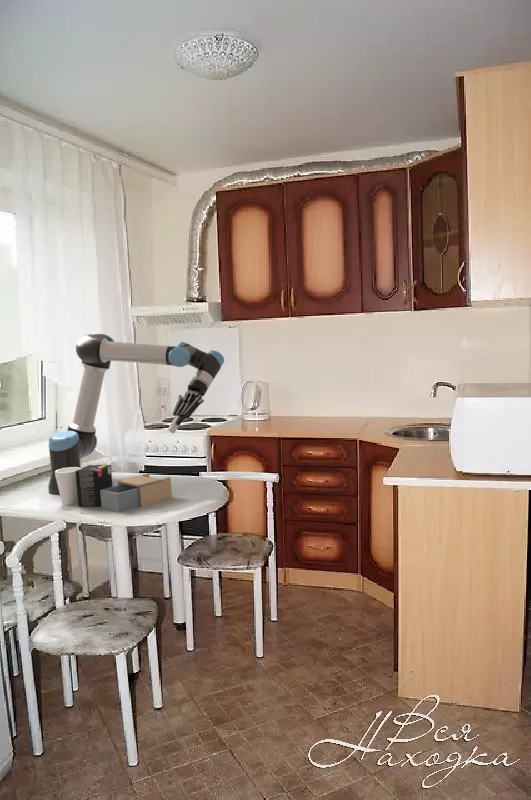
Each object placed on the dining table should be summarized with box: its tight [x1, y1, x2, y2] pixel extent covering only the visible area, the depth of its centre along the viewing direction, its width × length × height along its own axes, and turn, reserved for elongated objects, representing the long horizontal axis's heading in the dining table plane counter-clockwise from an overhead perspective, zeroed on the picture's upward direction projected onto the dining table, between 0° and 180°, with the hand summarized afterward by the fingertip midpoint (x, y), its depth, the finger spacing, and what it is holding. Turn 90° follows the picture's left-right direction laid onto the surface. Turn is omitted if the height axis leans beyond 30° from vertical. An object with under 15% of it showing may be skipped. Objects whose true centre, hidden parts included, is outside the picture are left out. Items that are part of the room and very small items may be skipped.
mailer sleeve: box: [117, 473, 173, 508], centre depth 238 cm, size 13×14×9 cm
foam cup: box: [55, 467, 82, 507], centre depth 242 cm, size 10×9×13 cm
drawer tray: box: [100, 484, 140, 513], centre depth 235 cm, size 11×22×7 cm, turn 139°
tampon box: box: [75, 464, 113, 508], centre depth 237 cm, size 11×9×15 cm
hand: (171, 431), depth 250 cm, fingers closed
